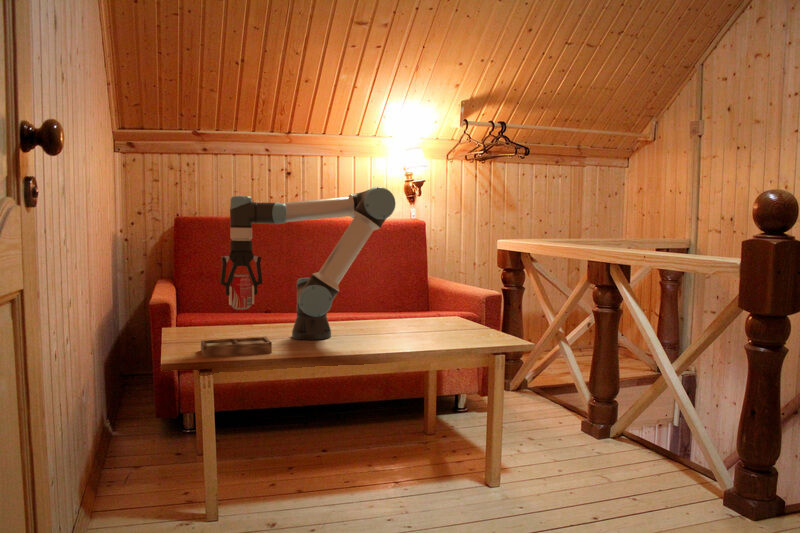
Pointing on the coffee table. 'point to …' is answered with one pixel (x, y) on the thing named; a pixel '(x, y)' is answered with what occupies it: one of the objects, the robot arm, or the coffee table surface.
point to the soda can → (241, 291)
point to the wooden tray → (235, 346)
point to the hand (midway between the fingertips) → (241, 304)
